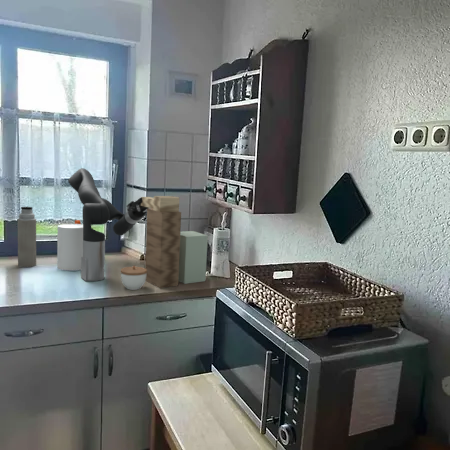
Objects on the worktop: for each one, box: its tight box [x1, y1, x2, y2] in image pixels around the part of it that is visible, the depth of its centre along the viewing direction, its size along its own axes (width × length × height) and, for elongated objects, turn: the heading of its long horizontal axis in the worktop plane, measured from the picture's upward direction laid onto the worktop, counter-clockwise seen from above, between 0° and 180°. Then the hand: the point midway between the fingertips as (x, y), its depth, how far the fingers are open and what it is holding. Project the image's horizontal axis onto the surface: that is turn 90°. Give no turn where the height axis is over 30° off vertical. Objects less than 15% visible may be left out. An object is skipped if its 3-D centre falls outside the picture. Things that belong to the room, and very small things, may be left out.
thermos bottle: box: [17, 206, 37, 268], centre depth 212 cm, size 8×8×28 cm
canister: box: [56, 223, 83, 271], centre depth 214 cm, size 14×14×20 cm
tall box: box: [144, 209, 182, 289], centre depth 195 cm, size 9×14×32 cm, turn 35°
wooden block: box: [140, 195, 180, 212], centre depth 198 cm, size 24×9×6 cm, turn 35°
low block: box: [178, 230, 209, 285], centre depth 204 cm, size 11×13×21 cm
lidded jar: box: [120, 265, 147, 291], centre depth 187 cm, size 11×11×9 cm
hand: (148, 199), depth 204 cm, fingers open, 6 cm apart
